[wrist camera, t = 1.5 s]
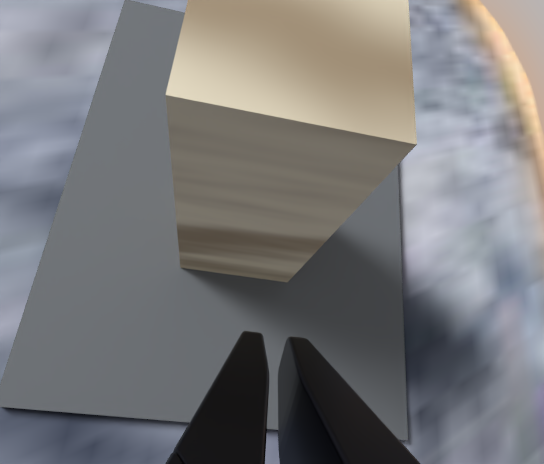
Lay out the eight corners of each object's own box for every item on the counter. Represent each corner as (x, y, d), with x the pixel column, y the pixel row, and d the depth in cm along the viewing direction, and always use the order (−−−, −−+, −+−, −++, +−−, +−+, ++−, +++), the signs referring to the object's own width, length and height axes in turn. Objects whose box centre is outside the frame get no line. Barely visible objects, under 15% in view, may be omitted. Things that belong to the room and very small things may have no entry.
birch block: (287, 282, 22) (416, 144, 10) (180, 267, 22) (165, 95, 9) (293, 203, 24) (408, 0, 12) (195, 186, 23) (200, -53, 11)
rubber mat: (402, 439, 21) (408, 440, 21) (-2, 405, 18) (-7, 406, 18) (390, 66, 31) (394, 60, 30) (126, 6, 28) (125, -1, 28)
